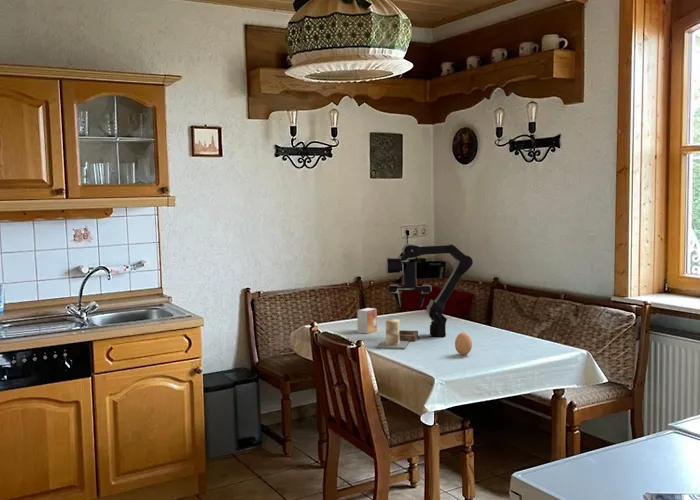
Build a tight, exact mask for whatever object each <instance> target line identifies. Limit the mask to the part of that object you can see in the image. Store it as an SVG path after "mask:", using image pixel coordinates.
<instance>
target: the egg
mask: <svg viewBox="0 0 700 500" xmlns="http://www.w3.org/2000/svg"><path fill="white" fill-rule="evenodd" d="M454 347H455V351H456V352H457V353H458V355H460V356H467V355H468V354H469V353H471V351H472V347H473V342H472V338H471V337H470V335H469V334H468V333H467V332H466V331H465V332H464V331H462V332H460V333H458V334H457V336H456V338H455V341H454Z"/></svg>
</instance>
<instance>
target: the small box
mask: <svg viewBox="0 0 700 500" xmlns="http://www.w3.org/2000/svg"><path fill="white" fill-rule="evenodd" d="M356 312H357V333H359V334H370V333H375V332H377V331H378V321H377V320H378V319H377V318H378V316H377V313H378V311H377V308H371V307H366V308H365V307H364V308H362V309H357V311H356Z"/></svg>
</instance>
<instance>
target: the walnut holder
mask: <svg viewBox="0 0 700 500" xmlns="http://www.w3.org/2000/svg"><path fill="white" fill-rule="evenodd" d="M418 338H419V331H418V330H400V341H409V342H416V341H417V339H418Z"/></svg>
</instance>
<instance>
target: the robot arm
mask: <svg viewBox="0 0 700 500" xmlns="http://www.w3.org/2000/svg"><path fill="white" fill-rule="evenodd" d="M437 254H438V255H441V254H450V256H451V257H452V258H453V259H454V260H455V262H454V266H453V271H452V272H451V274H450V276H448V277H449V278H448V279H447V281H446V282H445V284H444V285H443V287H442V289H441V290H440V293H439V294H438V295H437V297H436V298H435V299H434V300H433V299H430V301H429V303H428V305H426V309H425V310H426V311H425V312H426V315H427V316H428V317H429V318H430V320H431V322H430V324H429V335H430V338H431V337H432V338H433V337H434V338H436V337H437V338H445V337H447V326H446V325H447V320H448V318H446V317H445V316H444V315H443V313H444V311H445V305H446V302H447V301H448V300H449V297H450V296H451V294H452V293H453V291H454V289H455V288H456V286H457V285H458V283H459V281H460V279H461V278H462V276H463V275H465V274H466V273H467V272H468V271H469V270H470V269H471V267H473V262H474V261H473V259H472V257H471V256H469V255H467V254H465V253H463V252H462V251H461V250H459V248H457V247H456V245H455V244H453V243H448V244H437V245H434V244H432V245H431V244H430V245H421V244H420V245H417V244H411V243H408V244H404V245H403V246H402V249H401V253H400V254H399V256H398V257H397V258H396V257H395V258H394V257H393V258H391V257H387V258H386V264H385V270H386V271H385V272H386V274H387V275H388V274H389V275H390V274H400V272H402V271H403V272H402V275H403V276H401V284H402V285H401V286H400V285H399V284H389V286H388V288H387V290H388V291H387V292H388V293H391V295H393V296H394V298H395V300H396V303H397V305H398V308H399V309H401V304H402V303H401V298H400V291H403V292H404V291H410V292H411V291H417V292H420V291H421V293H420V301H419V302H420V303H419V308H420V309H422V306H423V303H424V301H425V297H426V295H427V296H428V294H429V293H431V292H433V291H432V288H433V287H432V285H431V284H422V286H421V285H420V286H418V278H417V264H418V263H421V260H420V259H419V258H418V257H421V256H424V255H437Z"/></svg>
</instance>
